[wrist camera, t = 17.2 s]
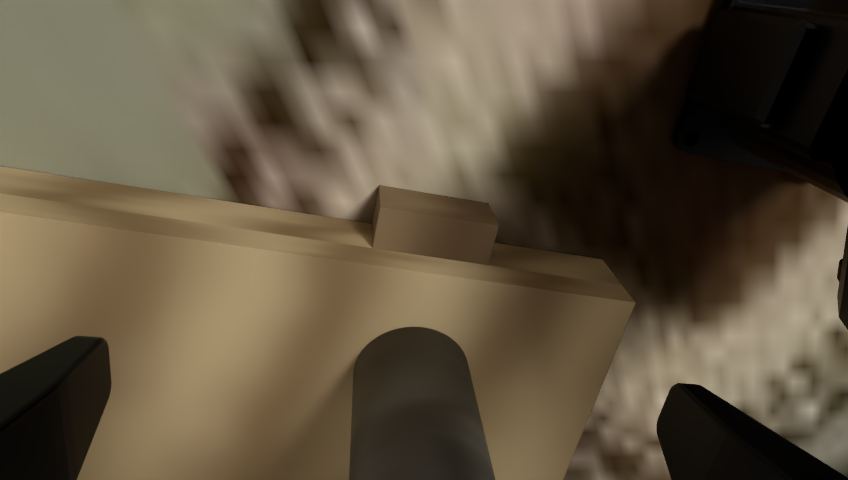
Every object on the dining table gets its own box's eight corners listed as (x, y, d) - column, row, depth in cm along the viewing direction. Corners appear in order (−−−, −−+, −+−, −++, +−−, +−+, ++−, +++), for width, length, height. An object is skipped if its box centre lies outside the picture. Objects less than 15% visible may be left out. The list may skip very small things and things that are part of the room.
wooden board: (615, 224, 22) (651, 264, 19) (489, 562, 30) (502, 626, 27) (-27, 118, 19) (-99, 147, 16) (18, 532, 26) (-25, 603, 24)
